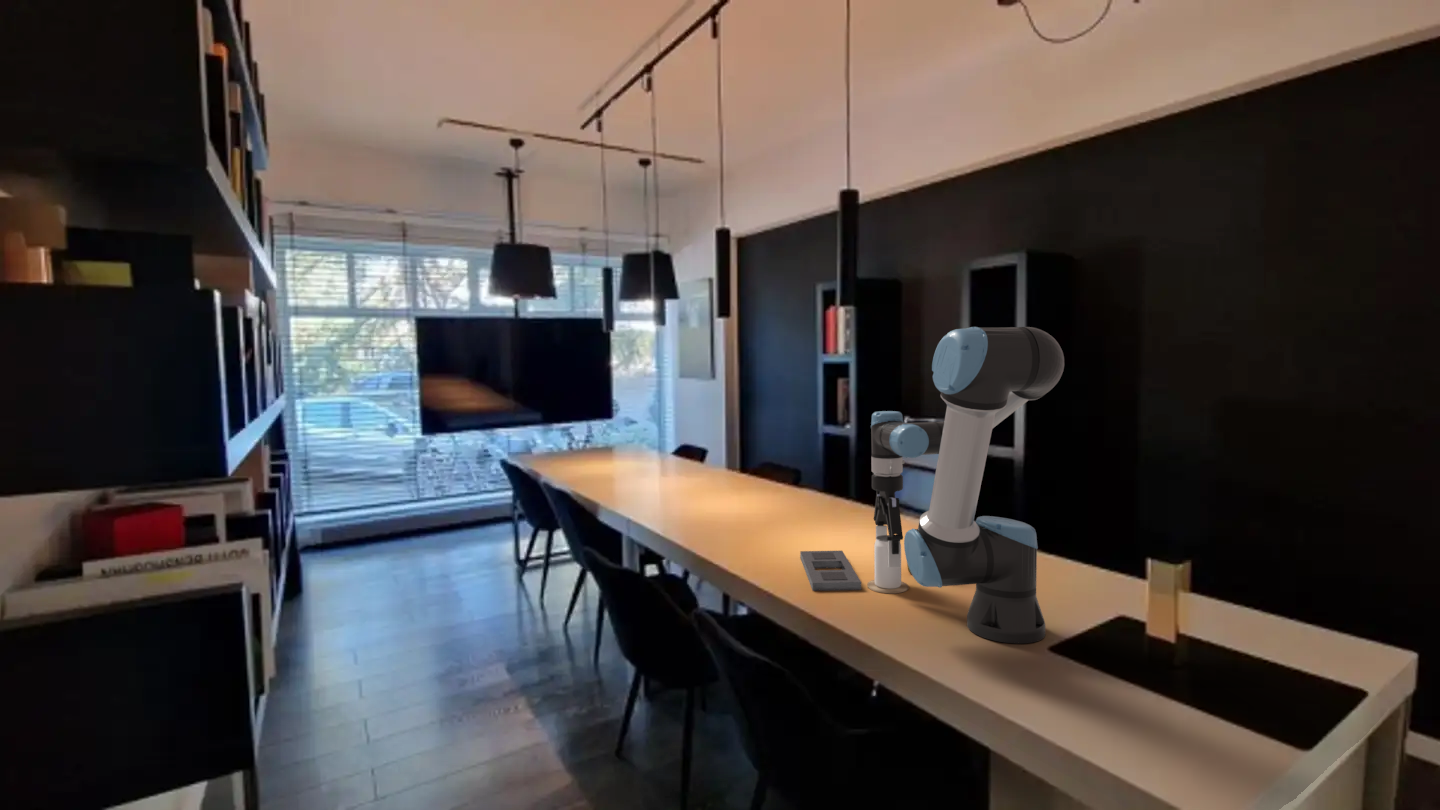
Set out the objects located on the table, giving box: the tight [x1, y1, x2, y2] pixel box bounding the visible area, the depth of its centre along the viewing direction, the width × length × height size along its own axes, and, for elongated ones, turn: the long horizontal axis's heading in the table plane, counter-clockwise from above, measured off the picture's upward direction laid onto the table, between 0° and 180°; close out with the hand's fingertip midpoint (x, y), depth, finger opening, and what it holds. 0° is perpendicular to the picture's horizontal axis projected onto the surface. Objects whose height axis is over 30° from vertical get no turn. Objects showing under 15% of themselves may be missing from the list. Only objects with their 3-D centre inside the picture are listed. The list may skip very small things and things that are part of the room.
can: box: [873, 534, 902, 589], centre depth 172 cm, size 6×6×12 cm
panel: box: [799, 550, 862, 592], centre depth 184 cm, size 28×12×2 cm, turn 0°
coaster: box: [867, 579, 910, 595], centre depth 172 cm, size 10×10×1 cm
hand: (887, 558), depth 172 cm, fingers open, 13 cm apart
